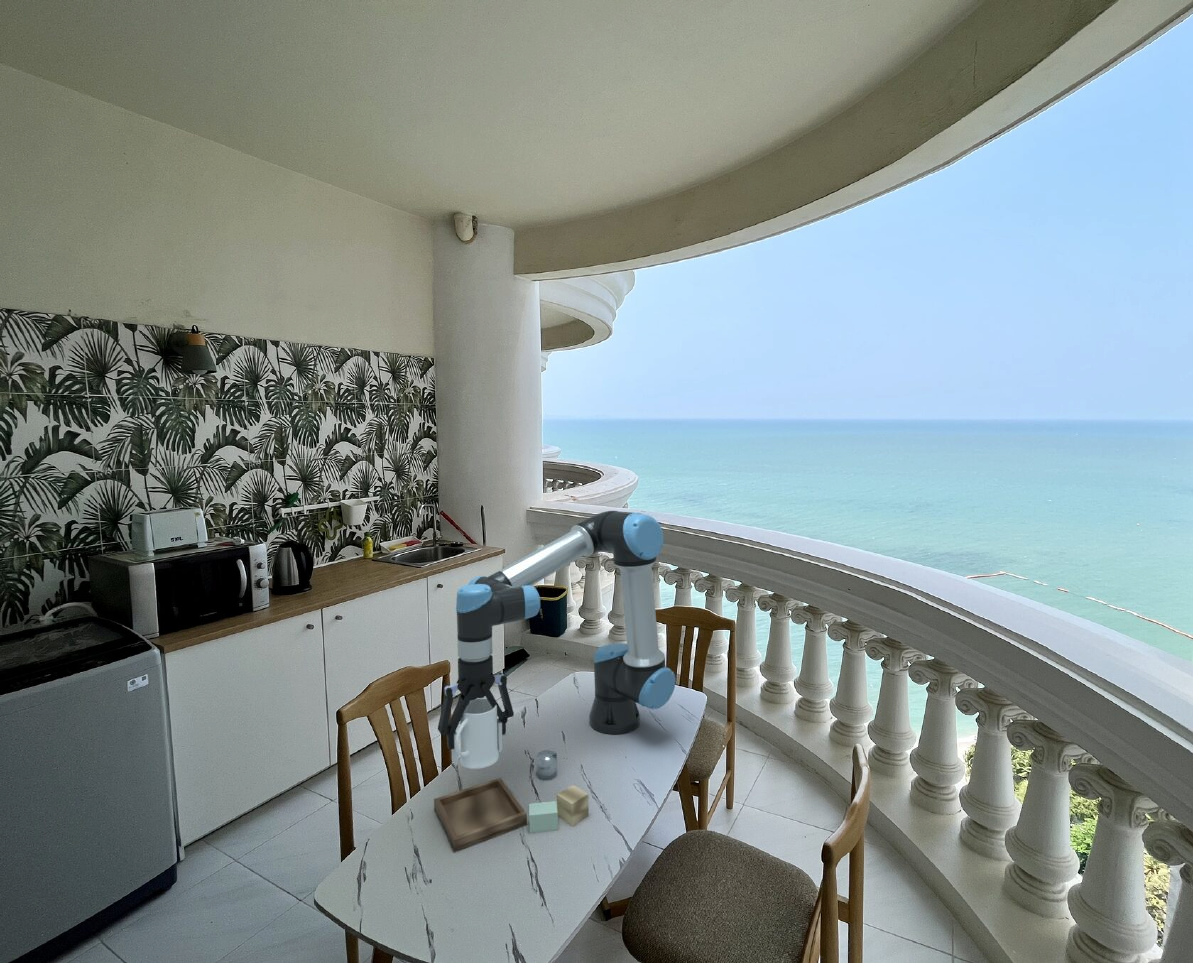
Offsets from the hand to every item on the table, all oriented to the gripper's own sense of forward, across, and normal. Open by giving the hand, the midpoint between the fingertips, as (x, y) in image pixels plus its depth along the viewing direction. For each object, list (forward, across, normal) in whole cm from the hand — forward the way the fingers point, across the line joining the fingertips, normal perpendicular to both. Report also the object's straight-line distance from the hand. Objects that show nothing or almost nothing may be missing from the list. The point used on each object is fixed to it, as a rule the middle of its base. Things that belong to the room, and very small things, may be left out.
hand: (477, 755), depth 123 cm
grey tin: (+14, -20, -7) cm, 26 cm away
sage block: (+14, -11, +10) cm, 21 cm away
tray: (+14, 0, 0) cm, 14 cm away
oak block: (+14, -18, +10) cm, 25 cm away
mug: (+1, +1, 0) cm, 2 cm away
